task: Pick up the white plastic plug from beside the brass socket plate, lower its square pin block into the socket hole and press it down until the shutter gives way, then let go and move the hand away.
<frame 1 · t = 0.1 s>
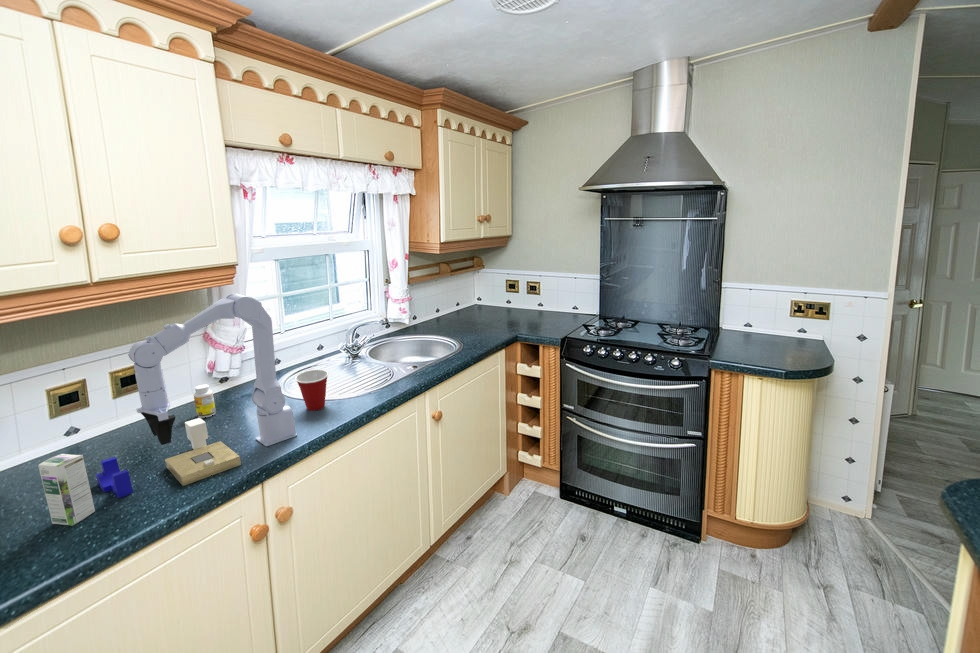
hand: (162, 438, 131), 10 cm above the table, tool pointing down, fingers open, 7 cm apart
cable clip: (115, 490, 128), on the table
shutter: (202, 458, 137), point 2 cm above the table, slide at 0.0 cm
plug: (199, 447, 148), on the table
socket plate: (203, 466, 138), on the table
supplement bottle: (206, 415, 172), on the table
syrup box: (74, 518, 116), on the table
plastic cup: (315, 408, 175), on the table
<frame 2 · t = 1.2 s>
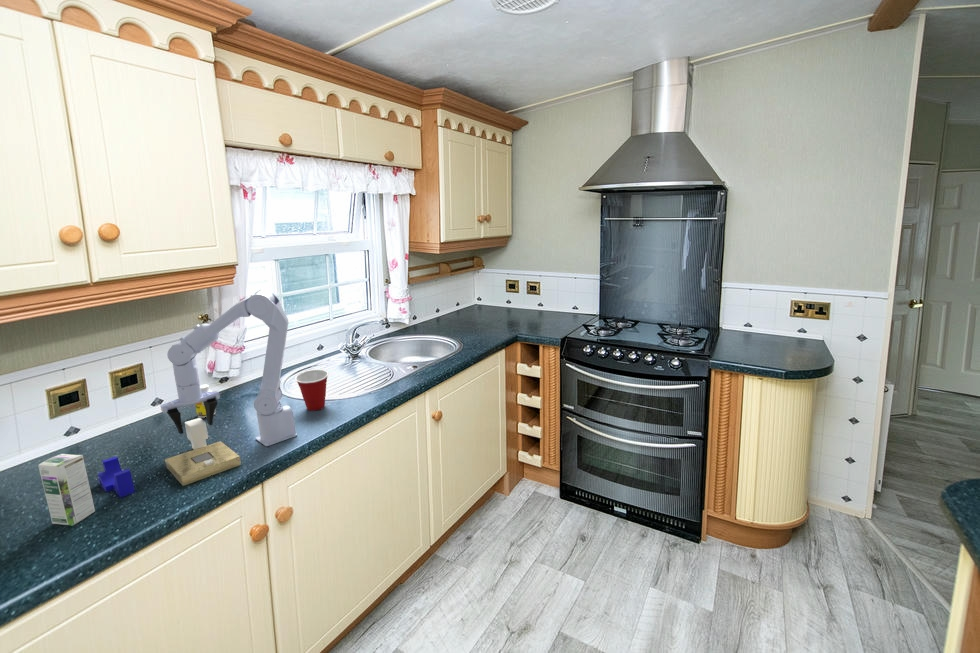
hand: (195, 428, 147), 6 cm above the table, tool pointing down, fingers open, 7 cm apart
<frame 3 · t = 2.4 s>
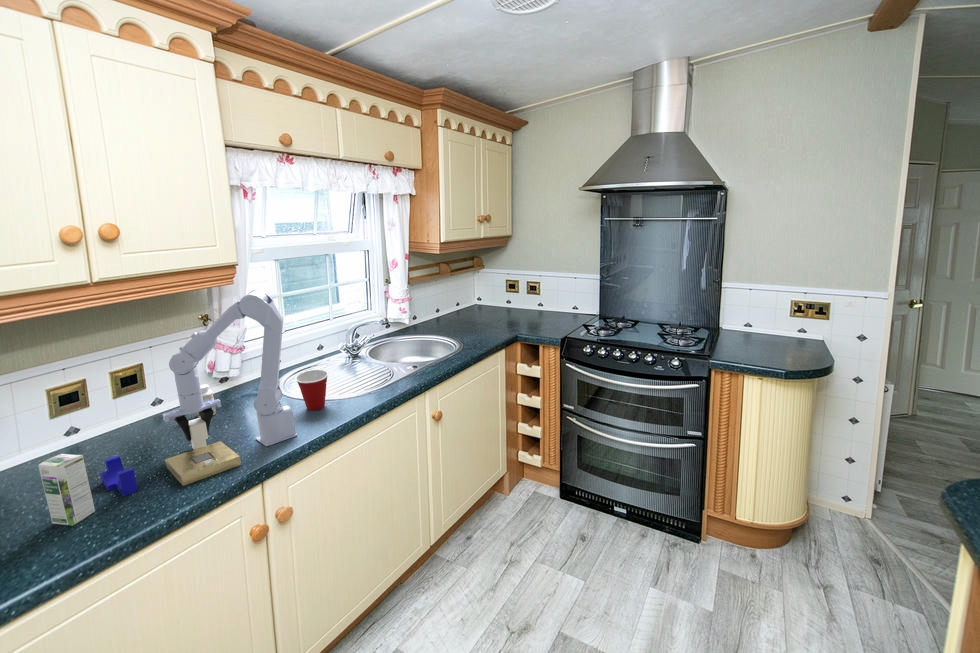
hand: (197, 436, 148), 3 cm above the table, tool pointing down, fingers closed on plug, 4 cm apart
plug: (199, 447, 148), on the table, touching gripper
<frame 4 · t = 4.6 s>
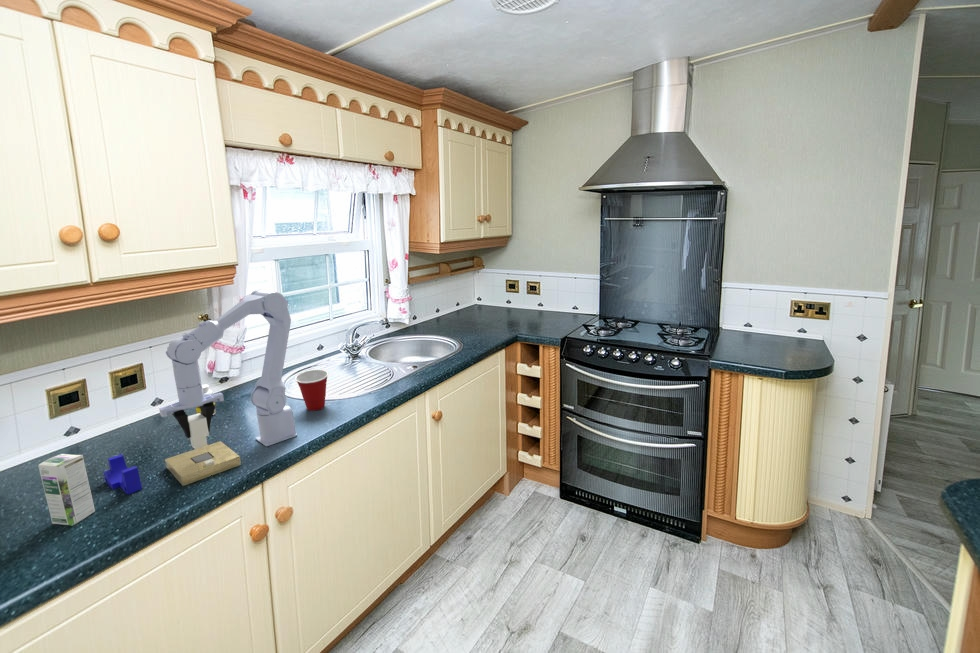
hand: (197, 433, 135), 9 cm above the table, tool pointing down, fingers closed on plug, 4 cm apart
plug: (199, 445, 136), point 6 cm above the table, touching gripper
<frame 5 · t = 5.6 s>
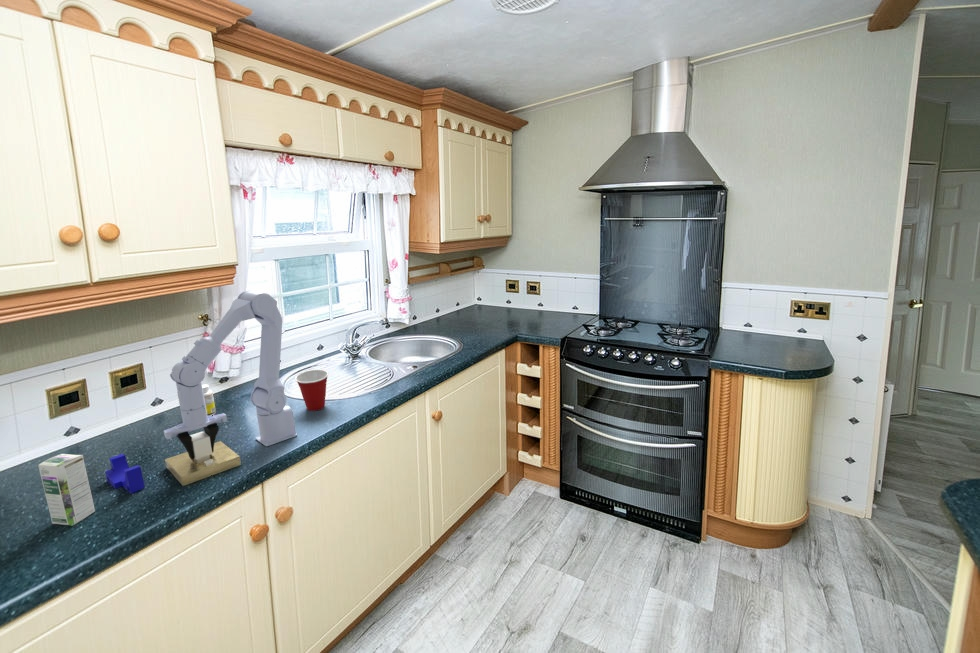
hand: (201, 454, 137), 3 cm above the table, tool pointing down, fingers closed on plug, 4 cm apart
shutter: (203, 465, 137), resting in socket plate, slide at -1.9 cm, touching plug
plug: (202, 463, 138), point 1 cm above the table, touching gripper, shutter
when the fingers open (3 cm above the table, at t = 6.9 s): plug stays where it is, resting on shutter.
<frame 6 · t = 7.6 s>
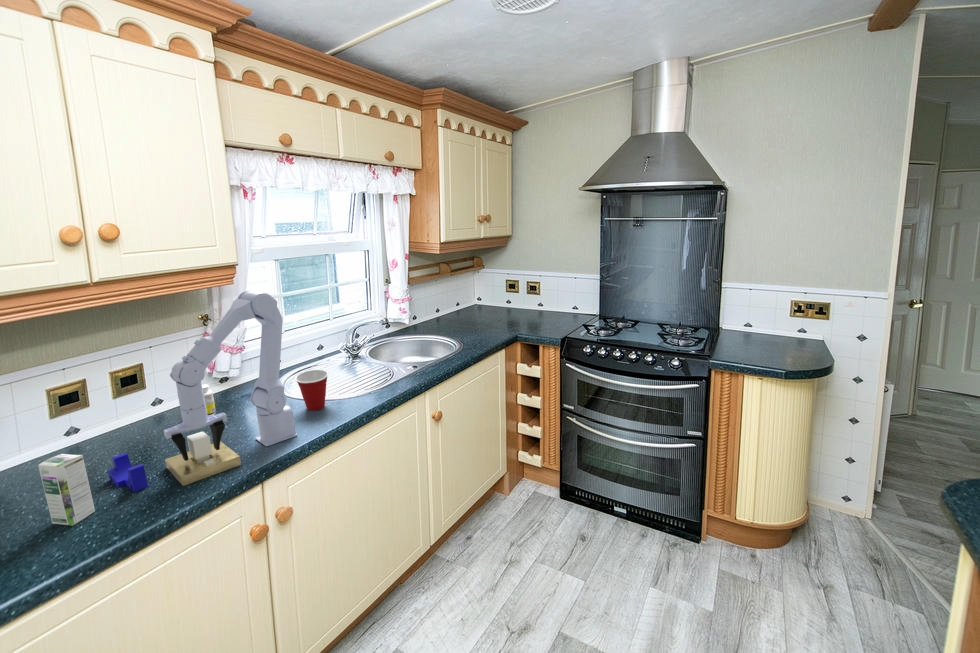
hand: (201, 454, 137), 4 cm above the table, tool pointing down, fingers open, 7 cm apart
plug: (202, 463, 138), point 1 cm above the table, touching shutter
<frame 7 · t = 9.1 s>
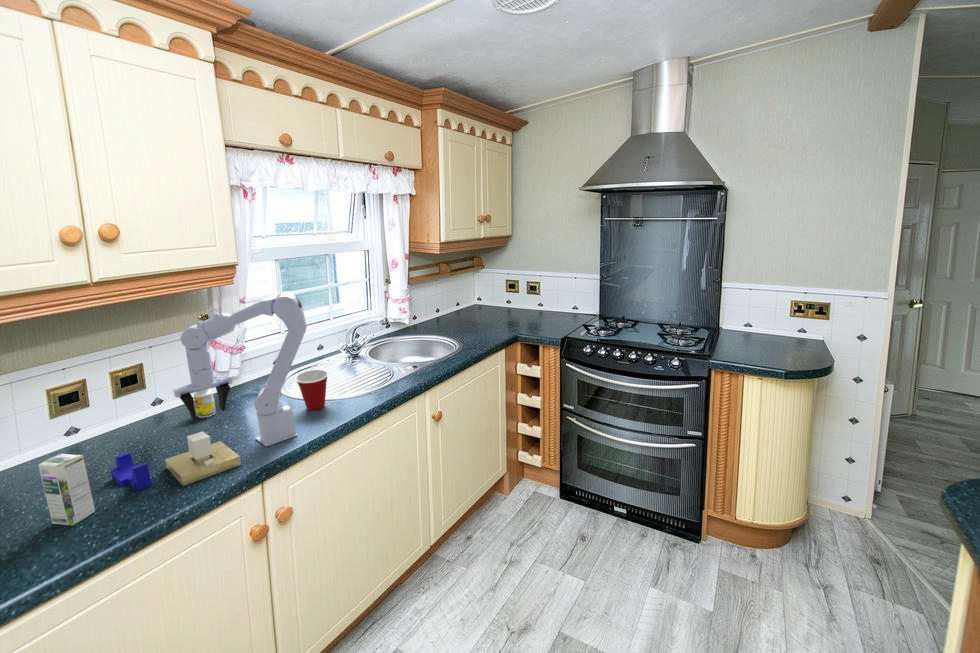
hand: (208, 413, 146), 10 cm above the table, tool pointing down, fingers open, 7 cm apart
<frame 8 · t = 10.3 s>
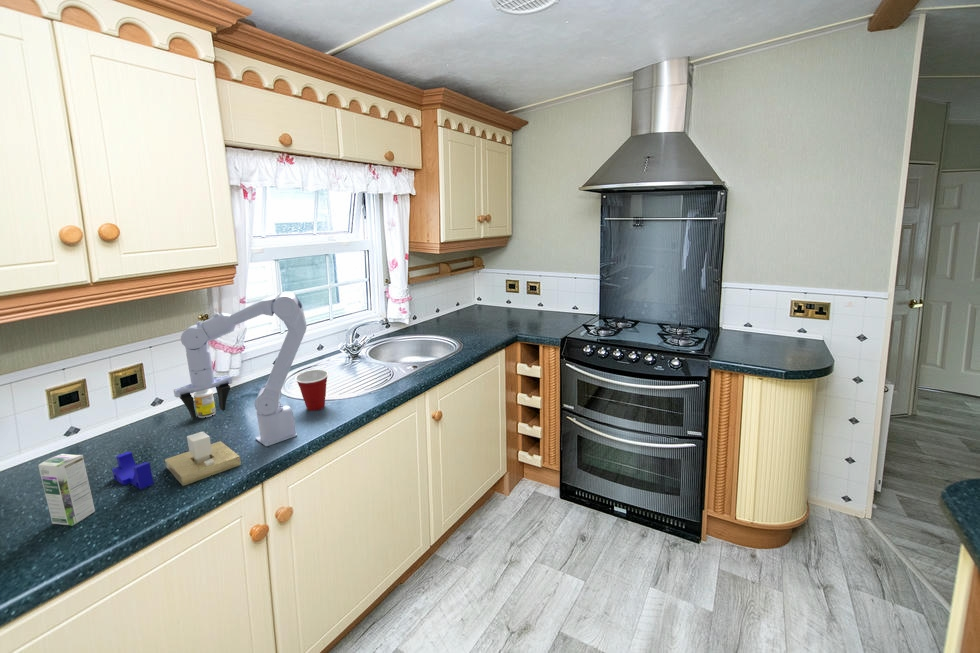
hand: (208, 413, 146), 10 cm above the table, tool pointing down, fingers open, 7 cm apart
at the end: plug 0.3 cm off-centre on the socket plate, point 0.6 cm above the socket plate's base; shutter slide at -1.9 cm; the gripper is holding nothing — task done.
